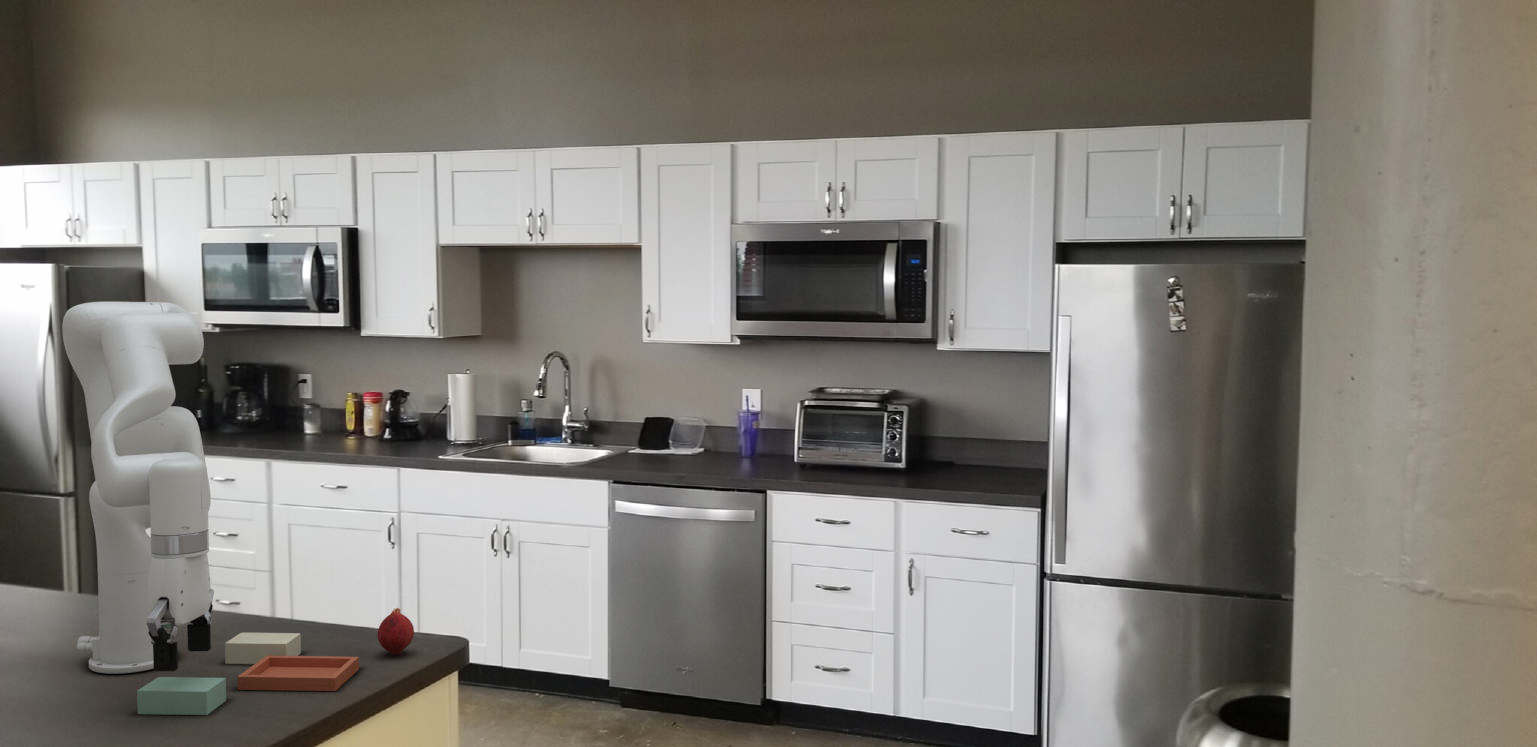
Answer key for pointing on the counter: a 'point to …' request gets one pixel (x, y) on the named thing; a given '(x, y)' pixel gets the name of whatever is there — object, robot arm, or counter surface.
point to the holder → (298, 673)
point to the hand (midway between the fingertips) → (183, 660)
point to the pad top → (261, 647)
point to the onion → (395, 632)
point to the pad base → (181, 696)
